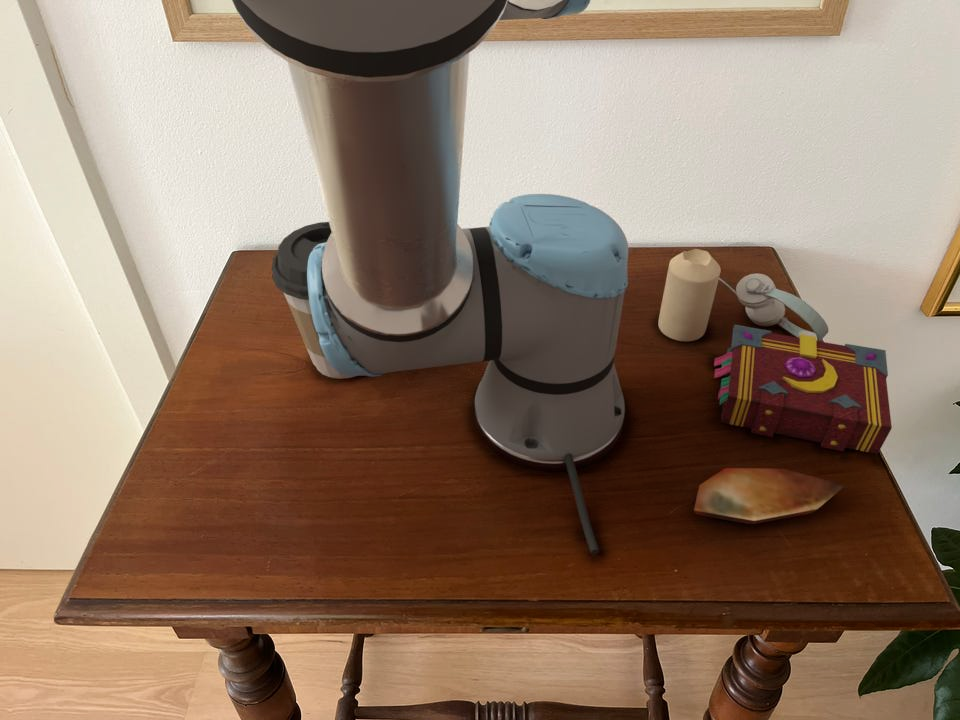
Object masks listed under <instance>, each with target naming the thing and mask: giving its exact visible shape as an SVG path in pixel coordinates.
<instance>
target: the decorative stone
mask: <svg viewBox="0 0 960 720" xmlns="http://www.w3.org/2000/svg"><path fill="white" fill-rule="evenodd" d="M845 486H846V484H843V483H839V482H836V481H833V480H828V479H824V478H821V477H816V476H812V475H809V474H805V473H804V474H803V473H801V472H798V471H794V470H789V469H785V468H761V467H759V468H756V467H754V468H751V467H746V468H745V467H725V468H723V469H721V470H720V471H718V472H717V473H715V474H714V475H712V476H711V477H710V478H708V479H707V480H705V481H703V482H702V483H700V484H699V486H698V489H697V494H696V500H695V504H694V507H693V512H694V513H695V515H698V516H702V517H708V518H713V519H719V520H724V521H728V522H729V521H730V522H733V523H734V522H735V523H739V524H745V525H757V524H762V523H768V522H772V521H778V520H783V519H789V518H794V517H799V516H804V515H810V514H813V513H814V512H816V511H818V509H819V508H821V507H822V506H823V505H824V504H825V503H826V502H828V501H829V500H830V499H831V498H832V497H834V496H835V495H836V494H837V493H838V492H839V491H841V490H842V489H843V488H844V487H845Z"/></svg>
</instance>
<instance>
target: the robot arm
mask: <svg viewBox="0 0 960 720" xmlns="http://www.w3.org/2000/svg"><path fill="white" fill-rule="evenodd" d="M231 1H232V4H233V5H234V8H235V10H236V12H237V15H238V16H239V18H240V20H241V21H242V22H243V24H244V25H245V26H246V28H247V29H248V31H249V32H250V33H251V34H252V35H253V36H254V37H255V38H256V39H257V40H258V41H259V42H260V43H261V44H262V45H264V46H265V48H266V49H268V50H270V51H271V52H272V53H273V54H275V55H277V56H278V57H280V58H281V59H283V60H284V61H286V62H287V66H288V69H289V73H290V76H291V80H292V85H293V89H294V93H295V97H296V100H297V104H298V108H299V112H300V115H301V116H300V117H301V120H302V124H303V127H304V131H305V135H306V139H307V142H308V146H309V150H310V154H311V159H312V161H313V166H314V169H315V173H316V174H315V175H316V177H317V181H318V185H319V189H320V193H321V195H322V200H323V204H324V208H325V212H326V217H327V221H328V222H329V224H330V227H331V231H332V233H331V234H330V236H329V238H328V240H327V242H326V243H321V244H318V245H317V246H315V247H314V249H313V251H312V252H311V253H310V256H309V259H308V266H307V283H308V293H309V302H310V308H311V313H312V318H313V323H314V326H315V329H316V332H318V335H319V343H320V346H321V349H322V351H323V353H324V355H325V357H326V359H327V361H328V362H329V364H330V365H331V366H332V368H333V369H334V370H336V371H337V372H339V373H340V374H343V375H346V376H355V377H359V376H360V377H361V376H367V377H373V378H375V377H380V376H382V375H385V374H387V373H395V372H397V373H398V372H402V371H411V370H412V371H413V370H419V369H420V370H421V369H428V368H430V369H431V368H437V367H446V366H447V367H448V366H455V365H462V364H471V363H480V362H488V363H487V366H486V368H485V371H484V374H483V376H482V378H481V380H480V382H479V384H478V386H477V389H476V391H475V392H476V393H475V396H474V420H475V421H474V422H475V425H476V428H477V430H478V433H479V435H480V436H481V438H482V440H483V441H484V443H485V444H487V446H488V447H489V448H490V449H491V450H492V451H493V452H494V453H496V454H497V455H499V456H500V457H502V458H504V459H505V460H507V461H508V462H511V463H513V464H515V465H518V466H520V467H524V468H527V469H531V470H536V471H544V472H545V471H547V472H560V471H561V472H562V471H567V473H568V477H569V480H570V481H569V482H570V484H571V489H572V492H573V497H574V501H575V504H576V508H577V512H578V516H579V519H580V524H581V526H582V531H583V533H584V537H585V540H586V543H587V546H588V549H589V552H590V554H591V555H598V554H599V553H600V549H599V546H598V542H597V540H596V537H595V534H594V531H593V530H594V529H593V527H592V524H591V520H590V517H589V513H588V510H587V506H586V501H585V498H584V494H583V490H582V487H581V483H580V479H579V475H578V471H577V469H578V468H582V467H585V466H588V465H590V464H593V463H595V462H596V461H598V460H599V459H601V458H603V457H604V456H605V455H607V454H608V453H609V452H610V451H611V450H612V449H613V448H614V447H615V445H616V444H617V443H618V441H619V439H620V437H621V435H622V432H623V427H624V422H625V415H626V406H625V405H626V404H625V399H624V398H625V397H624V395H623V391H622V387H621V384H620V380H619V376H618V373H617V372H618V371H617V369H616V365H615V357H616V351H617V343H618V337H619V329H620V325H621V317H622V311H623V305H624V301H625V300H624V299H625V294H626V293H625V292H626V290H627V287H628V284H629V275H628V274H629V273H628V261H629V242H628V240H627V239H628V238H627V236H626V234H625V232H624V231H623V229H622V227H621V226H620V225H619V223H617V221H616V220H615V219H614V218H613V217H611V216H610V215H609V214H607V212H605V211H604V210H602V209H600V208H598V207H597V206H593V205H591V204H589V203H587V202H585V201H583V200H580V199H577V198H574V197H570V196H564V195H561V194H554V193H553V194H551V193H529V194H522V195H518V196H514V197H512V198H510V199H509V201H504V202H502V203H501V204H499V205H498V207H497V208H495V210H494V211H493V214H492V216H491V218H490V220H489V221H490V222H489V225H488V226H480V227H470V228H469V227H465V228H462V227H461V226H460V225H459V223H458V222H459V221H458V219H459V205H460V192H461V177H462V165H463V151H464V150H463V148H464V146H463V145H464V137H465V136H464V135H465V134H464V133H465V122H466V108H467V95H468V94H467V92H468V81H469V65H470V53H471V52H472V51H474V50H475V49H476V48H477V47H478V46H479V45H480V44H481V43H483V41H485V40H486V39H487V38H488V36H489V35H490V34H491V32H492V31H493V30H494V28H495V27H496V25H497V24H498V22H499V21H506V20H507V21H510V20H529V19H531V20H533V19H541V20H552V19H558V18H560V17H565V16H570V15H571V16H574V15H578V14H581V13H582V12H584V11H585V10H587V8H588V7H589V5H590V4H591V0H231Z"/></svg>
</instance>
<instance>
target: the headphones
mask: <svg viewBox="0 0 960 720" xmlns="http://www.w3.org/2000/svg"><path fill="white" fill-rule="evenodd" d="M718 281H720V282H722V283H723V284H724V285H725V286H726V287H727V288H728V289H729V290H730V291H732V292H733V293H734V294H735V295H736V296H737V299H738V301H739V302H740V303H741V304H742V306H744V307H745V313H746V315H747V316H748V318H749V319H750V321H751V322H752V323H753V324H755V325H756V326H760V327H772V326H774V325H777V326H778V327H779V328H782V329H784V330H785V331H787V332H788V333H789V334H790V335H792V336H793V337H797V338H799V337H800V334H802V335H808V336H814V337H816V341H820V342H822V340H823V339H824V338H825V337H826V336H827V335H828V333H829V326H828V324H827V322H826V320H825V319H824V318H823V317H822V316H821V315H820V313H819V312H818V311H817V310H815V309H814V307H813V306H811V305H810V304H809V303H808V302H806V301H805V300H803V299H802V298H800V297H798V296H796V295H795V294H792V293H790V292H787V291H783V290H781V289H778V288H777V287H776V284H775V283H774V281H773V280H772V279H771V278H770V276H768V275H766V274H763V273H750V274H748V275H745V276H743V277H742V278H741V279H739V281H738V283H737V284H736V287H735V289H733V287H732V286H730V284H728V283H727V282H726V281H724V280H723V279H722V278H720V277H719V280H718ZM785 307H787V308H788V309H790V310H791V311H792V312H794V313H795V314H796V315H797V316H798V317H800V318H801V319H802V320H803V321H804V322H805V323H806V324H807V325H808V326H809V327H810V328H811V329H812V331H811V330H807V329H804V328H801V327H799V326H797V325H796V324H794V323H792V322H791V321H790V320H788V317H786V316H785V315H786V314H785V313H786V308H785Z"/></svg>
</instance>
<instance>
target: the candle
mask: <svg viewBox="0 0 960 720" xmlns="http://www.w3.org/2000/svg"><path fill="white" fill-rule="evenodd" d="M721 272H722V271H721V266H720V264H719V263H718V262H717V261H716V259H714V258H713V256H712V255H711V254H710V252H708V251H707V250H703V249H699V248H693V249H691V250H684V251H682V252H681V253H679V254H677V255H674V257H672V258H671V259H670V260H669V264H668V269H667V273H666V280H665V284H664V288H663V293H662V294H663V295H662V300H661V305H660V310H659V316H658V329H659V330H660V332H661V333H662V334H663V335H664V336H666V337H667V338H670V339H672V340H674V341H677V342H694V341H697V340H700V338H702V337H703V336H704V335H705V334H706V331H707V328H708V324H709V319H710V315H711V312H712V308H713V304H714V300H715V296H716V293H717V288H718V284H719V281H720V280H719V278H720V276H721Z"/></svg>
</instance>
